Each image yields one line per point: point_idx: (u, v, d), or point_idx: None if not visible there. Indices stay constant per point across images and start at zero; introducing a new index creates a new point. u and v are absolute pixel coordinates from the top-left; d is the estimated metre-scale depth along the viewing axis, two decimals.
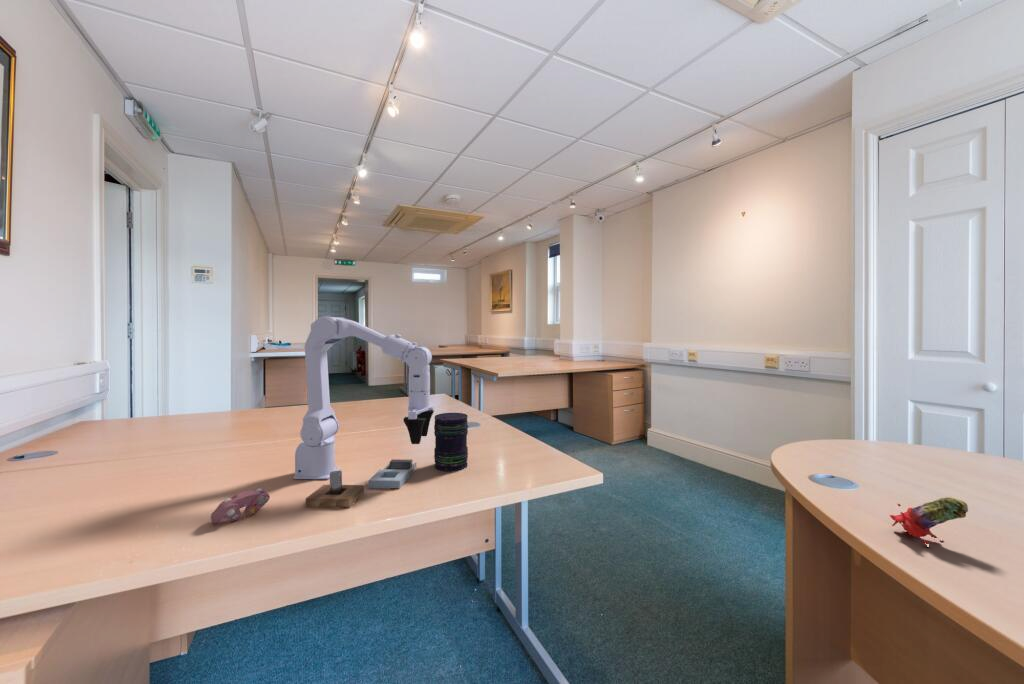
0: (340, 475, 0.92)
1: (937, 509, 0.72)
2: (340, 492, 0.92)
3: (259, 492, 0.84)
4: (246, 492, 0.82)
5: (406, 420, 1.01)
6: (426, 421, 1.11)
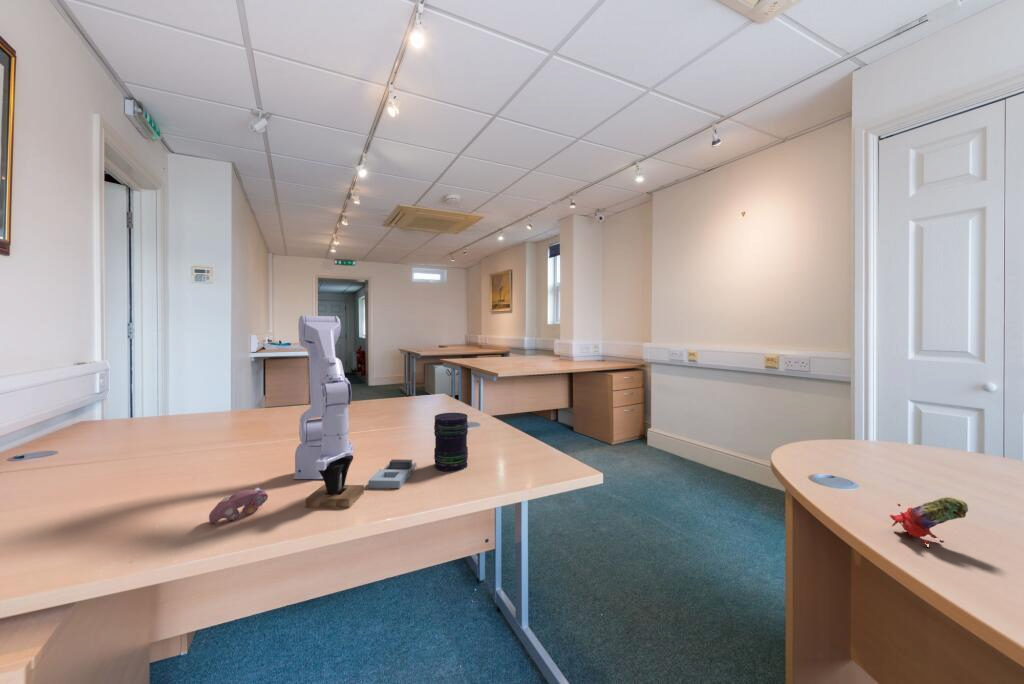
0: (340, 475, 0.92)
1: (937, 509, 0.72)
2: (340, 492, 0.92)
3: (257, 492, 0.84)
4: (244, 492, 0.83)
5: None
6: (343, 470, 0.93)
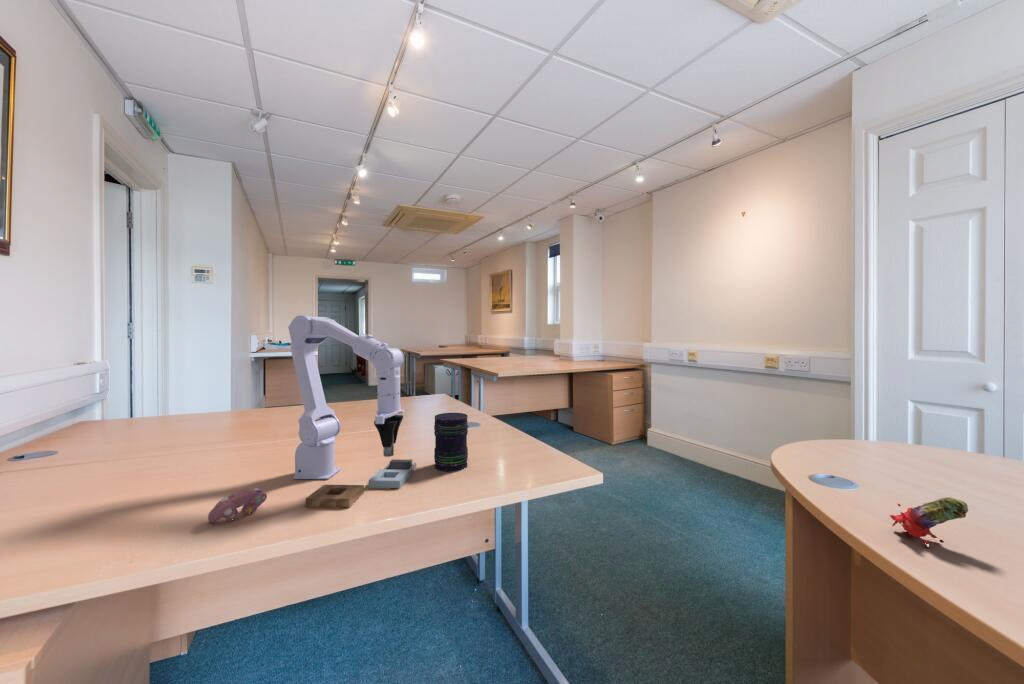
0: None
1: (937, 509, 0.72)
2: (393, 447, 1.02)
3: (256, 491, 0.84)
4: (243, 491, 0.83)
5: None
6: (395, 427, 1.04)
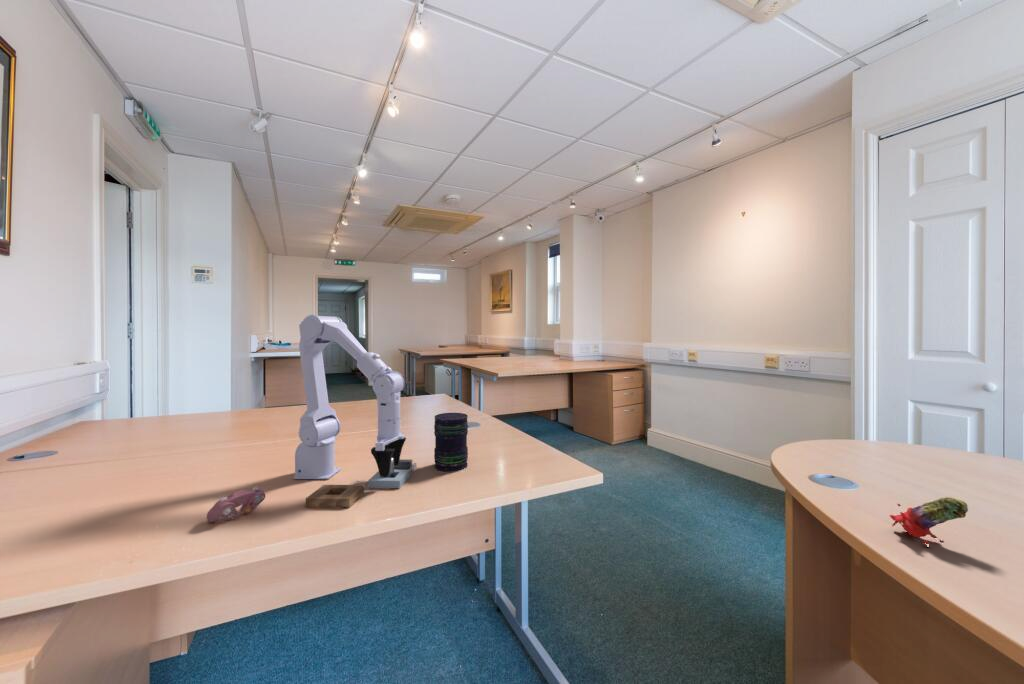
0: (393, 460, 1.03)
1: (937, 509, 0.72)
2: (393, 475, 1.03)
3: (255, 491, 0.85)
4: (242, 491, 0.83)
5: (373, 451, 0.96)
6: (397, 449, 1.06)
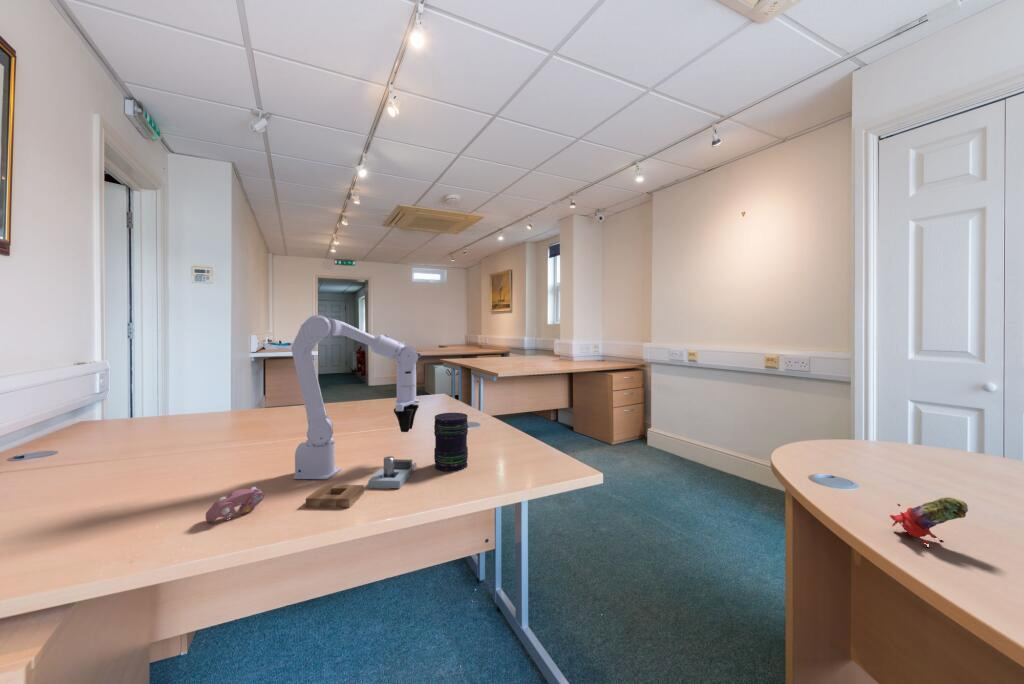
0: (393, 460, 1.03)
1: (937, 509, 0.72)
2: (393, 475, 1.03)
3: (254, 491, 0.85)
4: (241, 491, 0.83)
5: (396, 410, 1.14)
6: (411, 415, 1.20)
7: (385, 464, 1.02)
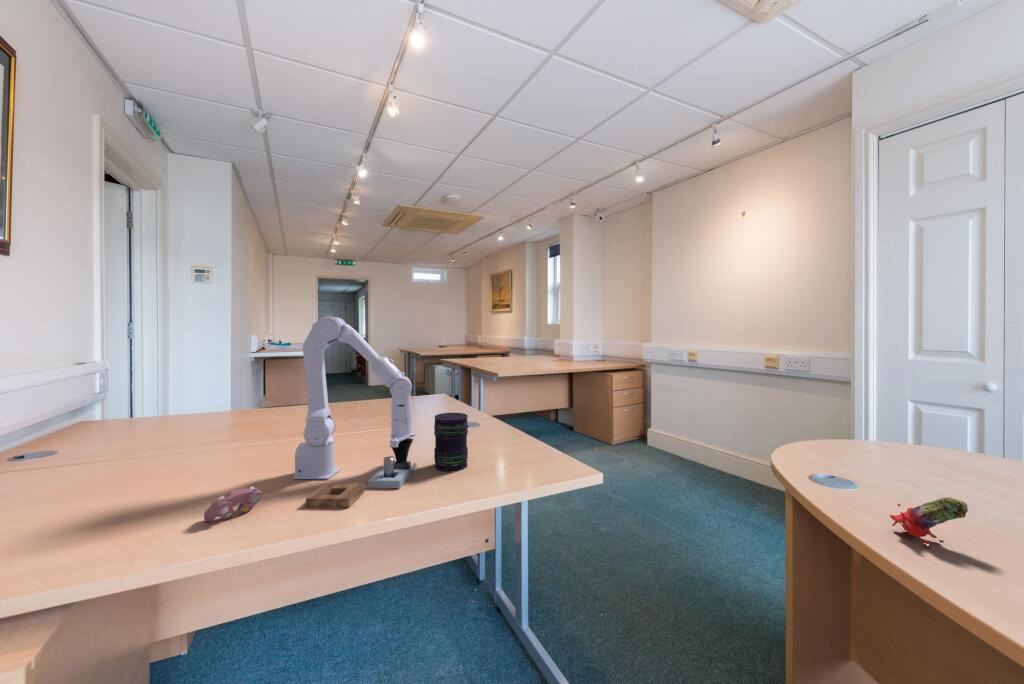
0: (393, 459, 1.03)
1: (937, 509, 0.72)
2: (393, 475, 1.03)
3: (252, 490, 0.85)
4: (239, 490, 0.83)
5: None
6: None
7: (385, 464, 1.02)
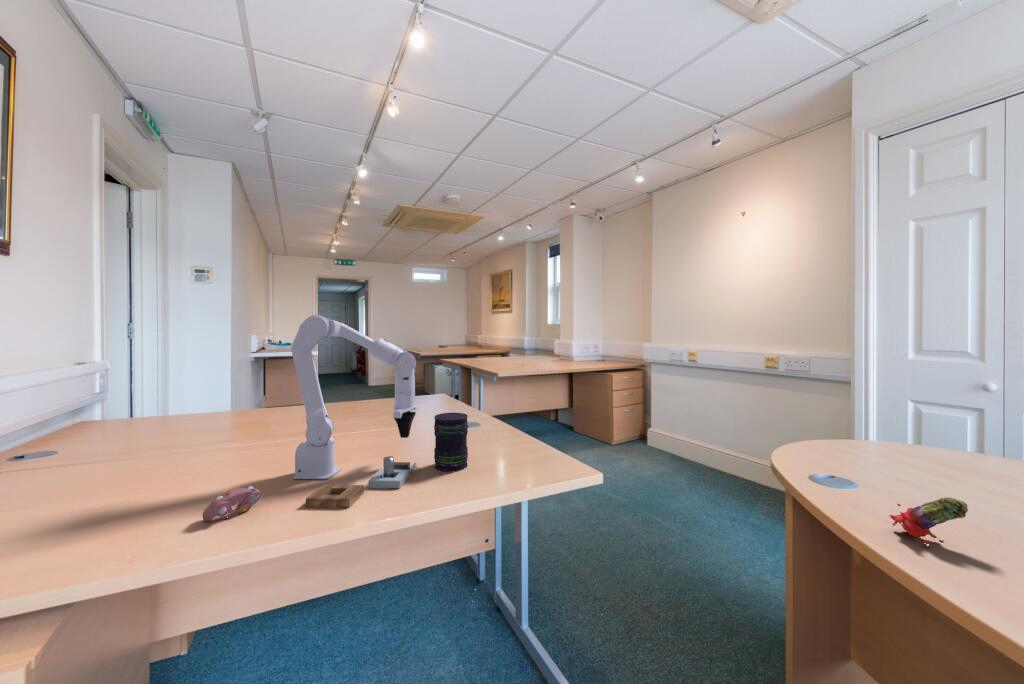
0: (393, 459, 1.03)
1: (937, 509, 0.72)
2: (393, 475, 1.03)
3: (251, 490, 0.85)
4: (238, 490, 0.84)
5: None
6: None
7: (385, 464, 1.02)
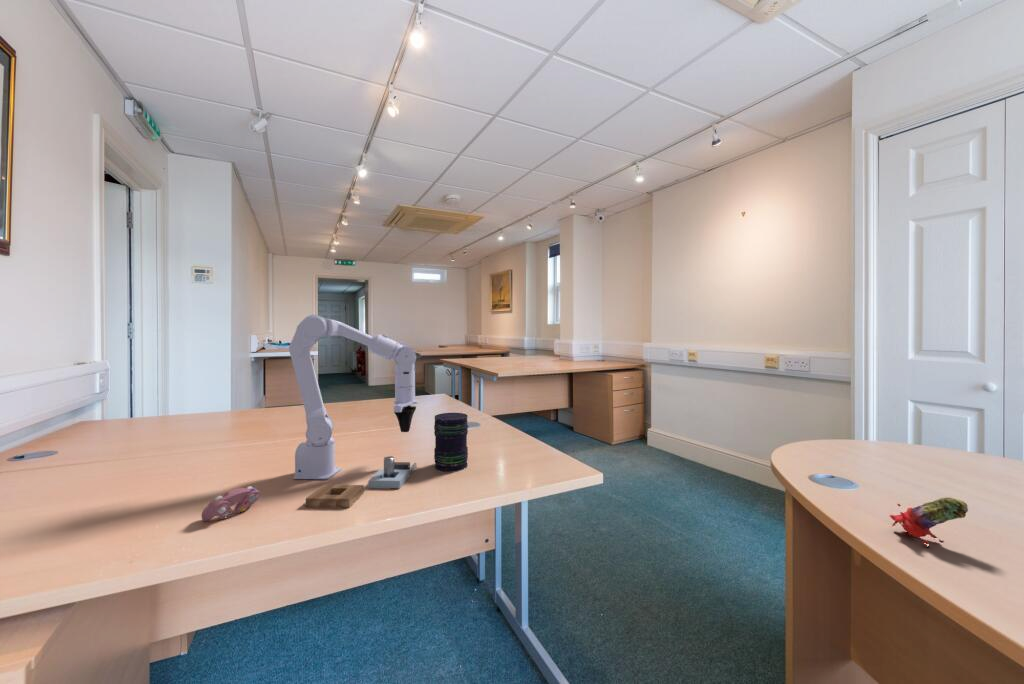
0: (393, 459, 1.03)
1: (937, 509, 0.72)
2: (393, 475, 1.03)
3: (250, 490, 0.85)
4: (237, 490, 0.84)
5: None
6: None
7: (385, 464, 1.02)
